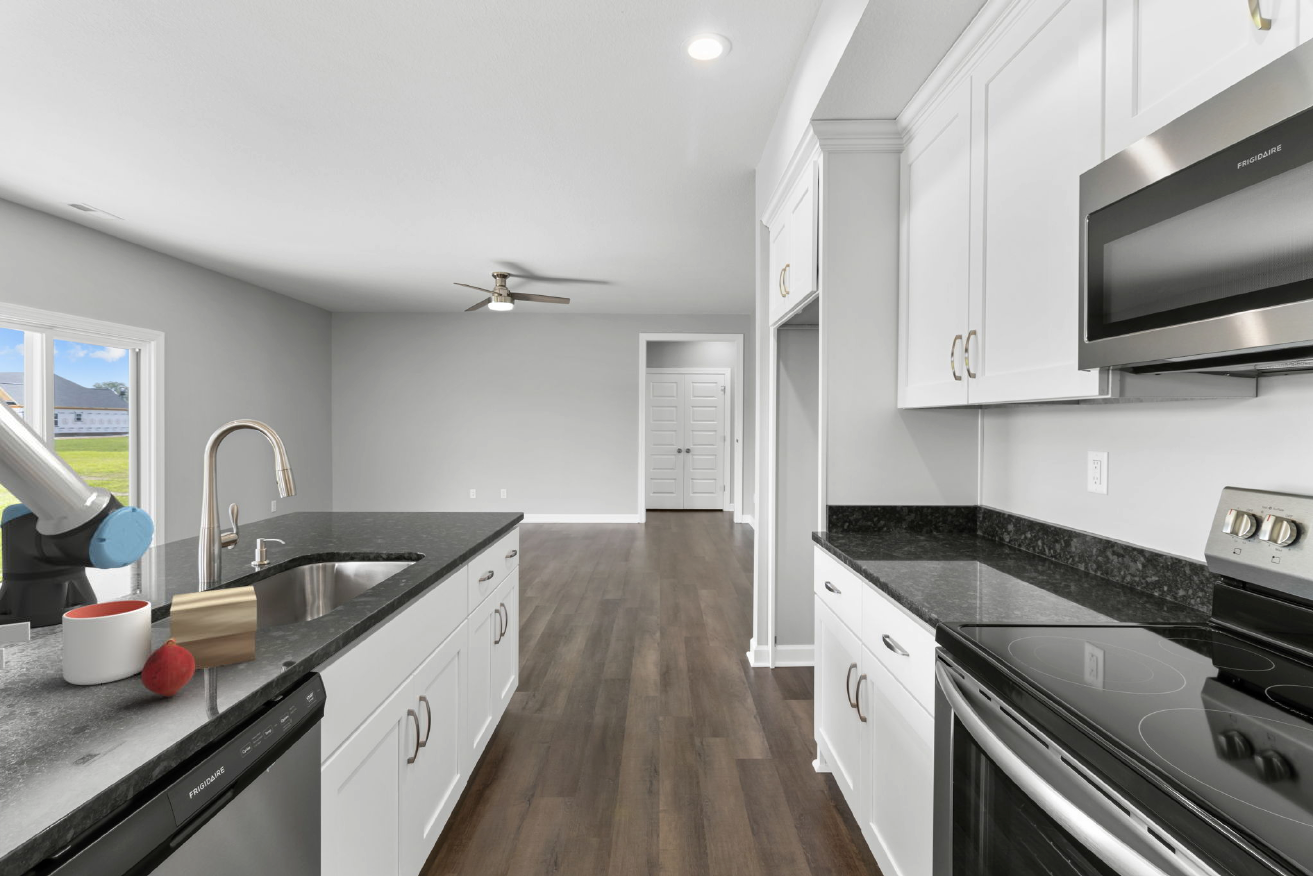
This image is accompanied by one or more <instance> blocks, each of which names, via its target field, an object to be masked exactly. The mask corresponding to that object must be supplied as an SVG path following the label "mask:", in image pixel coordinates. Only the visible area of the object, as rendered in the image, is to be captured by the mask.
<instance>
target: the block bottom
mask: <svg viewBox="0 0 1313 876" xmlns="http://www.w3.org/2000/svg"><path fill="white" fill-rule="evenodd" d="M176 645H178V646H180V647H183V648H185V649H186V650H188V651H189V652H190V653H191V654H192V656H193V658H194V661H195V669H201V670H204V669H203V668H207V669H209V668H208V667H213V668H218V667H221V666H220V665H224V666H228V665H227V664H230V665H234V664H233V663H235V664H240V663H245V661H247V662H252V661H256V631H251V632H245V633H238V634H232V635H225V636H219V637H213V638H206V639H200V640H193V641H187V642H180V643H176ZM251 660H252V661H251ZM217 666H218V667H217Z"/></svg>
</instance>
